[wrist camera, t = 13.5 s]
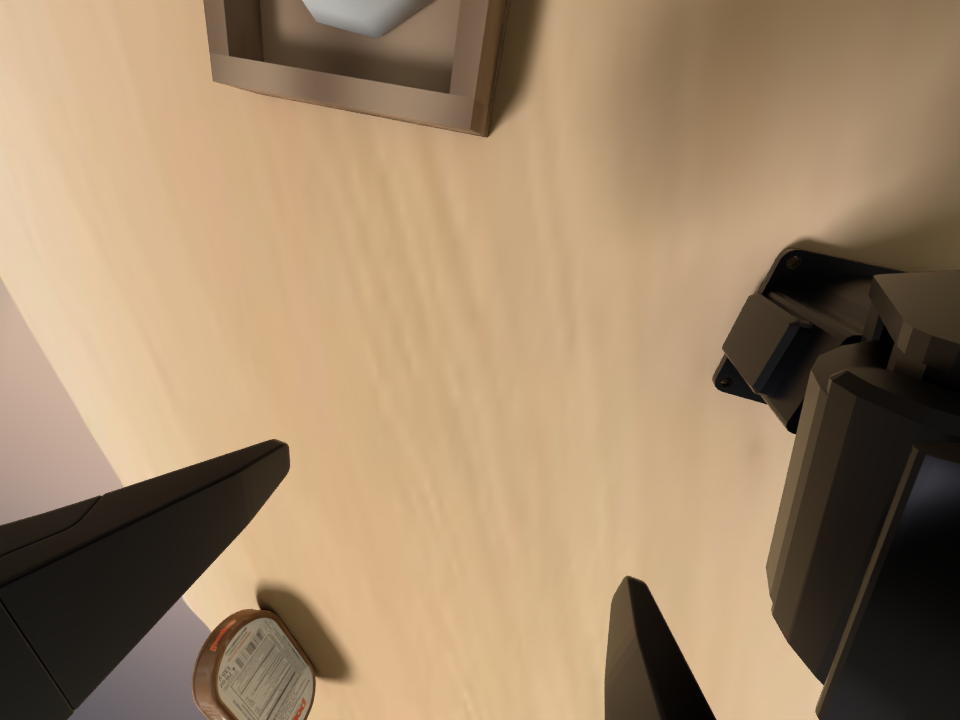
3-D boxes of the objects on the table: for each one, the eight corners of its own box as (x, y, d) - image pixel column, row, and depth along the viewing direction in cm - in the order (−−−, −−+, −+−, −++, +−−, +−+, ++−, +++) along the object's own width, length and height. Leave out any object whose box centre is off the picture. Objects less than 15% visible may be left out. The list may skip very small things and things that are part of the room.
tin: (246, 590, 40) (166, 679, 33) (266, 591, 39) (188, 684, 32) (312, 681, 45) (255, 778, 37) (332, 684, 44) (277, 785, 36)
